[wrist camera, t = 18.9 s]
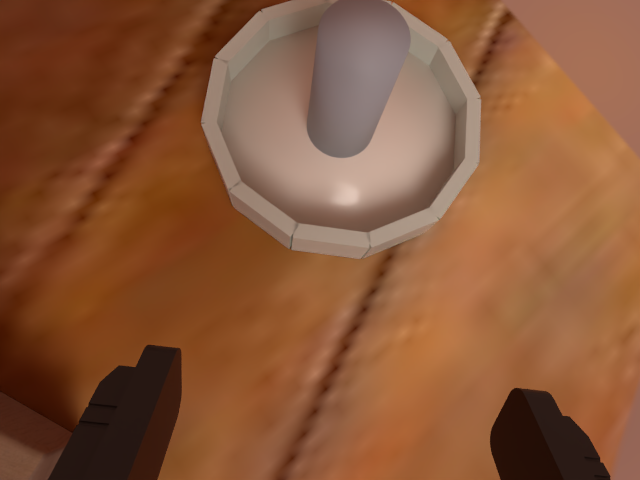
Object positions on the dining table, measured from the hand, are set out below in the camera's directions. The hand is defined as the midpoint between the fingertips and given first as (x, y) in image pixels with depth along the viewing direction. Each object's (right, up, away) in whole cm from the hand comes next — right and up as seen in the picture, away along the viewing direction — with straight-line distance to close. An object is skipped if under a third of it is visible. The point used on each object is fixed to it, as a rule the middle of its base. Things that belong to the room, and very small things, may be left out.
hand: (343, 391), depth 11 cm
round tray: (+1, +11, +20) cm, 23 cm away
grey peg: (+1, +11, +19) cm, 22 cm away
